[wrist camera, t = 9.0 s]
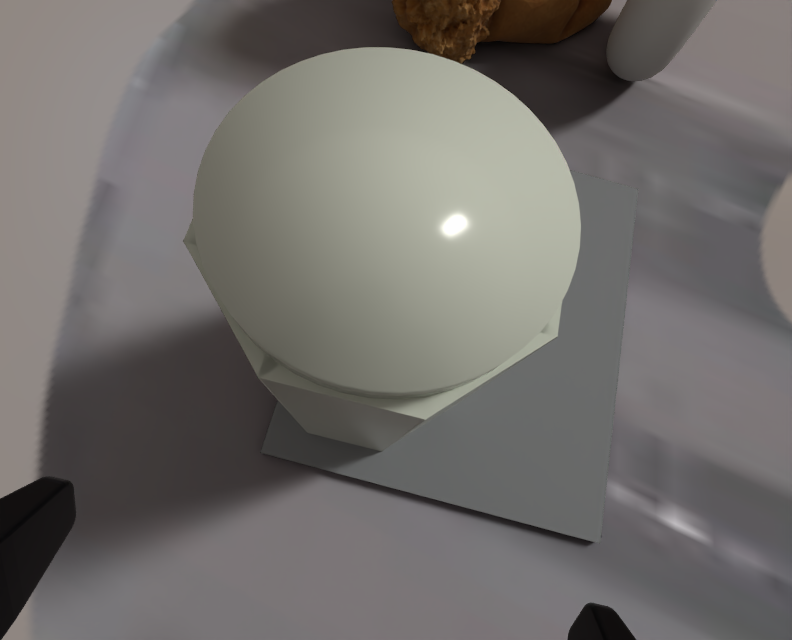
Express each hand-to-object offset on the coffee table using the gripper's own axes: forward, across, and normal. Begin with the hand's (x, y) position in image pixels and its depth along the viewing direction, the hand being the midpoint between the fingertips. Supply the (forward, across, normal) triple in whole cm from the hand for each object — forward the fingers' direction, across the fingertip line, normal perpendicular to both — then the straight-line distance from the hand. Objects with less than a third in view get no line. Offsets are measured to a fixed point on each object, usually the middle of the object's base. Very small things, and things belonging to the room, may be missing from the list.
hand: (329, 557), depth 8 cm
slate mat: (+15, -4, +1) cm, 16 cm away
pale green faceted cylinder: (+12, 0, +4) cm, 13 cm away
